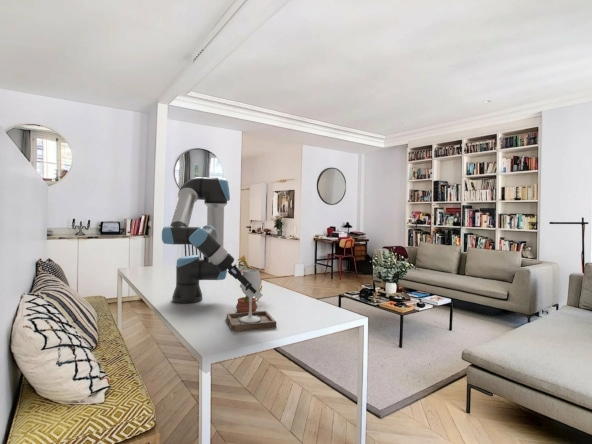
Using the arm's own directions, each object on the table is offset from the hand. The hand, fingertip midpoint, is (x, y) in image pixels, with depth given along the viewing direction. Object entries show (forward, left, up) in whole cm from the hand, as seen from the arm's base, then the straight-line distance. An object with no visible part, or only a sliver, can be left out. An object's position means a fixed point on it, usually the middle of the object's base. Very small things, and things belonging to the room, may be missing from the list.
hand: (256, 293), depth 143 cm
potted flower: (-18, -1, -13) cm, 22 cm away
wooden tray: (0, -2, -13) cm, 13 cm away
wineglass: (0, -2, -11) cm, 12 cm away
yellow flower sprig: (-35, +5, -13) cm, 38 cm away
